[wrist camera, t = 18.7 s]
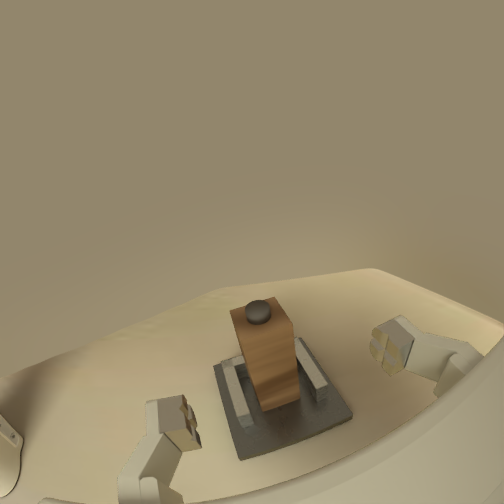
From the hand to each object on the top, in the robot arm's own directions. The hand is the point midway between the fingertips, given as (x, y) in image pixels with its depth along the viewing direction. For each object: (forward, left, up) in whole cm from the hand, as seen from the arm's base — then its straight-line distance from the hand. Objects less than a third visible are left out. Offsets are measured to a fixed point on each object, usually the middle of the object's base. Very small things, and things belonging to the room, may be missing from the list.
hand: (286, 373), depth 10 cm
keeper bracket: (-8, +12, -22) cm, 27 cm away
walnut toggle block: (-8, +12, -21) cm, 26 cm away
